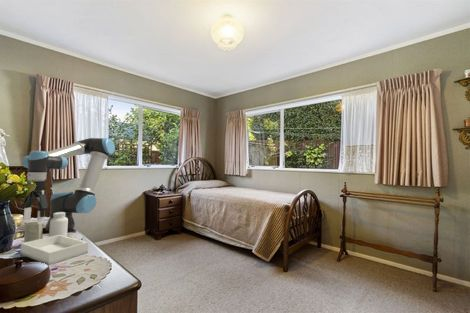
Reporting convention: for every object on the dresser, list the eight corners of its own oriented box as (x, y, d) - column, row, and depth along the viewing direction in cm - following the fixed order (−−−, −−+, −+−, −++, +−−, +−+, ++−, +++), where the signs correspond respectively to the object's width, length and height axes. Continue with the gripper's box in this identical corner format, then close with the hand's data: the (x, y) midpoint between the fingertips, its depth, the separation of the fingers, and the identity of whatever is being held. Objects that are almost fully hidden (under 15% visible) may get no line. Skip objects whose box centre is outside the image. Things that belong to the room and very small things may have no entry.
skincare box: (42, 243, 123) (43, 219, 124) (38, 245, 119) (40, 221, 119) (27, 244, 121) (28, 220, 121) (22, 246, 117) (24, 222, 117)
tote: (59, 244, 122) (59, 234, 122) (87, 252, 111) (88, 242, 111) (20, 254, 107) (21, 243, 108) (48, 265, 97) (49, 253, 97)
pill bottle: (51, 244, 122) (53, 215, 123) (46, 240, 127) (48, 212, 127) (69, 240, 128) (70, 212, 129) (64, 237, 133) (65, 210, 134)
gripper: (15, 179, 123) (12, 220, 122) (40, 181, 112) (37, 226, 111) (33, 179, 130) (30, 217, 129) (58, 181, 119) (55, 223, 118)
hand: (33, 221), depth 120 cm, fingers open, 13 cm apart
